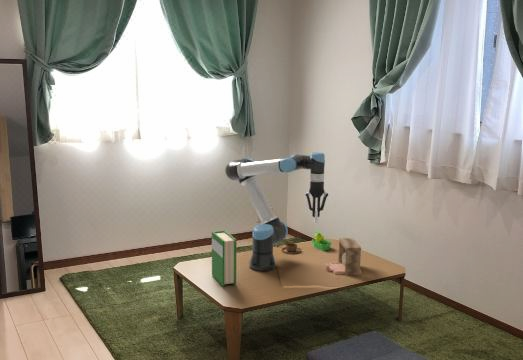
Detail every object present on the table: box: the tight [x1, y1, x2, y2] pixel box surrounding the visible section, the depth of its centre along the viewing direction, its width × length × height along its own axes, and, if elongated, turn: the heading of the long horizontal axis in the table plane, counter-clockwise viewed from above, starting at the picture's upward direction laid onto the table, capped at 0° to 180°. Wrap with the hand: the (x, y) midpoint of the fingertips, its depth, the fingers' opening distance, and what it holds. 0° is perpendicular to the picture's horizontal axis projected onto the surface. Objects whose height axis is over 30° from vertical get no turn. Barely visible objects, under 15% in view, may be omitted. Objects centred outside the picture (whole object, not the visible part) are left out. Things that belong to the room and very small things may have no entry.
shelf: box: [337, 237, 362, 276], centre depth 288 cm, size 8×18×16 cm, turn 4°
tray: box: [324, 262, 362, 275], centre depth 289 cm, size 18×15×3 cm
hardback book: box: [211, 230, 237, 287], centre depth 270 cm, size 18×7×24 cm, turn 23°
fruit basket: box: [311, 232, 332, 252], centre depth 325 cm, size 11×9×11 cm
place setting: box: [273, 242, 302, 255], centre depth 323 cm, size 18×20×6 cm
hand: (315, 222), depth 286 cm, fingers closed
